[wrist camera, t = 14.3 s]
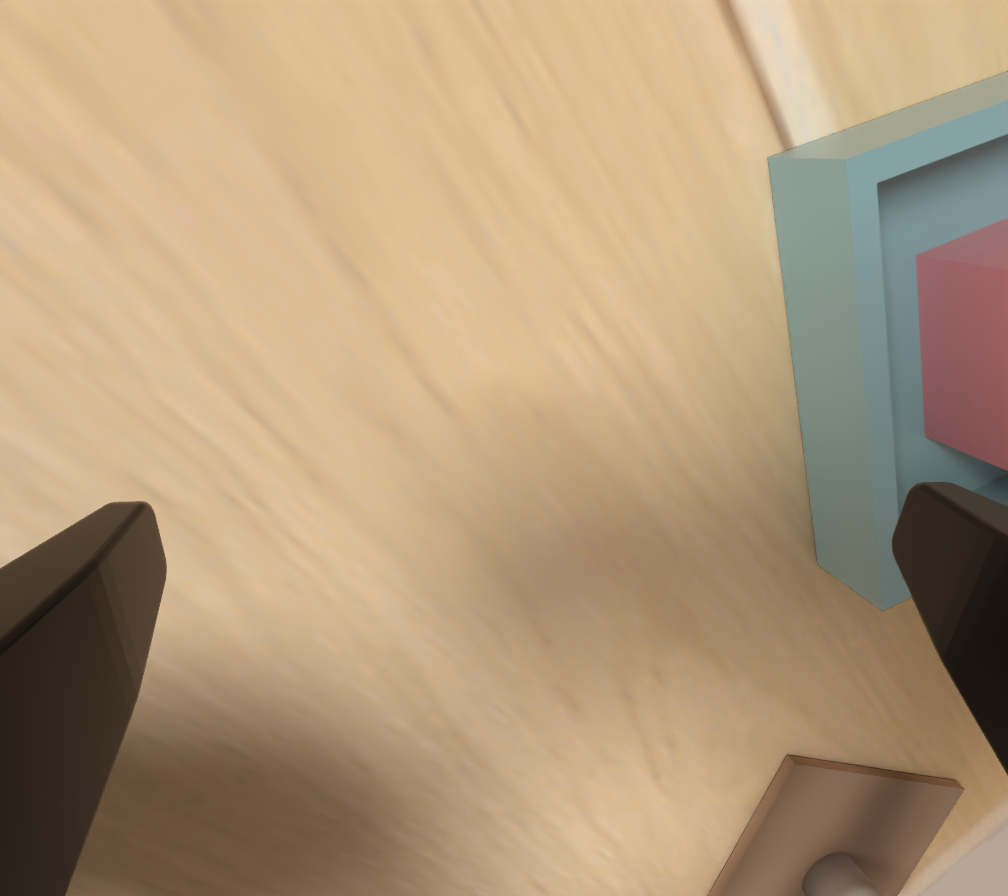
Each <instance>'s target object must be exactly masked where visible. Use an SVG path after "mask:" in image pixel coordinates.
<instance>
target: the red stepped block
mask: <svg viewBox="0 0 1008 896" xmlns="http://www.w3.org/2000/svg"><path fill="white" fill-rule="evenodd" d="M916 269H917V289H918V309H919V329H920V349H921V369H922V388H923V408H924V428H925V436H926V437H928V438H931V439H933V440H935V441H938V442H940V443H942V444H945V445H947V446H950V447H952V448H954V449H957V450H959V451H961V452H964V453H966V454H969V455H971V456H973V457H976V458H978V459H980V460H983V461H985V462H988V463H990V464H992V465H995V466H997V467H999V468H1002V469H1004V470H1007V471H1008V218H1006V219H1003V220H1001V221H998V222H996V223H993V224H991V225H988V226H986V227H983V228H981V229H979V230H976V231H974V232H971V233H969V234H966V235H964V236H961V237H959V238H956V239H954V240H951V241H949V242H947V243H944V244H942V245H939V246H937V247H934V248H932V249H929V250H927V251H924V252H922V253H919V254H917V255H916Z"/></svg>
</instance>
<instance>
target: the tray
mask: <svg viewBox="0 0 1008 896" xmlns="http://www.w3.org/2000/svg"><path fill="white" fill-rule="evenodd" d="M768 165H769V173H770V181H771V189H772V197H773V205H774V213H775V222H776V230H777V238H778V246H779V254H780V262H781V271H782V279H783V287H784V295H785V303H786V311H787V320H788V328H789V336H790V344H791V352H792V360H793V368H794V377H795V385H796V393H797V401H798V409H799V417H800V426H801V434H802V442H803V450H804V458H805V466H806V475H807V483H808V491H809V499H810V507H811V515H812V523H813V532H814V540H815V548H816V556H817V564H818V565H819V566H820V567H821V568H823V569H824V570H825V571H827V572H828V573H830V574H831V575H832V576H834V577H835V578H837V579H838V580H839V581H841V582H842V583H844V584H845V585H846V586H848V587H849V588H850V589H852V590H853V591H855V592H856V593H857V594H859V595H860V596H862V597H863V598H864V599H866V600H867V601H869V602H870V603H871V604H873V605H874V606H876V607H877V608H878V609H880V610H881V611H884V610H886V609H888V608H891V607H893V606H895V605H897V604H899V603H901V602H903V601H905V600H907V599H909V598H911V597H912V596H911V594H910V592H909V590H908V587H907V585H906V583H905V581H904V578H903V576H902V574H901V572H900V570H899V567H898V565H897V563H896V561H895V559H894V556H893V552H892V536H893V533H894V530H895V527H896V524H897V521H898V518H899V516H900V513H901V510H902V507H903V504H904V501H905V498H906V495H907V493H908V491H909V489H910V488H911V487H912V486H913V485H915V484H917V483H920V482H950V483H954V484H956V485H958V486H961V487H963V488H966V489H968V490H970V491H973V492H975V493H978V494H980V495H982V496H985V497H987V498H990V499H992V500H995V501H997V502H999V503H1002V504H1004V505H1007V506H1008V471H1007V470H1004V469H1002V468H999V467H997V466H995V465H992V464H990V463H988V462H985V461H983V460H980V459H978V458H976V457H973V456H971V455H969V454H966V453H964V452H961V451H959V450H957V449H954V448H952V447H950V446H947V445H945V444H942V443H940V442H938V441H935V440H933V439H931V438H928V437H926V436H925V428H924V408H923V388H922V369H921V349H920V329H919V309H918V289H917V269H916V255H917V254H919V253H922V252H924V251H927V250H929V249H932V248H934V247H937V246H939V245H942V244H944V243H947V242H949V241H951V240H954V239H956V238H959V237H961V236H964V235H966V234H969V233H971V232H974V231H976V230H979V229H981V228H983V227H986V226H988V225H991V224H993V223H996V222H998V221H1001V220H1003V219H1006V218H1008V71H1007V72H1004V73H1001V74H998V75H996V76H993V77H990V78H987V79H985V80H982V81H979V82H976V83H973V84H971V85H968V86H965V87H962V88H960V89H957V90H954V91H951V92H948V93H946V94H943V95H940V96H937V97H934V98H932V99H929V100H926V101H923V102H921V103H918V104H915V105H912V106H909V107H907V108H904V109H901V110H898V111H895V112H893V113H890V114H887V115H884V116H882V117H879V118H876V119H873V120H870V121H868V122H865V123H862V124H859V125H857V126H854V127H851V128H848V129H845V130H843V131H840V132H837V133H834V134H831V135H829V136H826V137H823V138H820V139H818V140H815V141H812V142H809V143H806V144H804V145H801V146H798V147H795V148H792V149H790V150H787V151H784V152H781V153H779V154H776V155H773V156H770V157H768Z"/></svg>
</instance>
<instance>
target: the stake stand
mask: <svg viewBox="0 0 1008 896" xmlns="http://www.w3.org/2000/svg"><path fill="white" fill-rule="evenodd" d="M963 791H964V788H963V787H962V786H961V785H960V784H959V783H957V782H956V781H955V780H948V779H942V778H935V777H929V776H922V775H915V774H909V773H902V772H896V771H889V770H883V769H876V768H869V767H863V766H856V765H850V764H843V763H836V762H830V761H823V760H817V759H810V758H803V757H797V756H790V755H787V756H786V758H785V760H784V762H783V763H782V765H781V767H780V769H779V771H778V772H777V774H776V776H775V778H774V779H773V781H772V783H771V785H770V786H769V788H768V790H767V792H766V794H765V795H764V797H763V799H762V801H761V802H760V804H759V806H758V808H757V810H756V811H755V813H754V815H753V817H752V818H751V820H750V822H749V824H748V825H747V827H746V829H745V831H744V833H743V834H742V836H741V838H740V840H739V841H738V843H737V845H736V847H735V849H734V850H733V852H732V854H731V856H730V857H729V859H728V861H727V863H726V864H725V866H724V868H723V870H722V872H721V873H720V875H719V877H718V879H717V880H716V882H715V884H714V886H713V887H712V889H711V891H710V893H709V895H708V896H897V895H898V894H899V892H900V891H901V889H902V887H903V886H904V884H905V883H906V881H907V880H908V878H909V876H910V875H911V873H912V872H913V870H914V868H915V867H916V865H917V864H918V862H919V861H920V859H921V857H922V856H923V854H924V853H925V851H926V849H927V848H928V846H929V845H930V843H931V842H932V840H933V838H934V837H935V835H936V834H937V832H938V831H939V829H940V827H941V826H942V824H943V823H944V821H945V819H946V818H947V816H948V815H949V813H950V812H951V810H952V808H953V807H954V805H955V804H956V802H957V800H958V799H959V797H960V796H961V794H962V793H963Z"/></svg>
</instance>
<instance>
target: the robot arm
mask: <svg viewBox="0 0 1008 896" xmlns="http://www.w3.org/2000/svg"><path fill="white" fill-rule="evenodd" d="M892 552H893V556H894V559H895V561H896V563H897V565H898V567H899V570H900V572H901V574H902V576H903V578H904V581H905V583H906V585H907V587H908V590H909V592H910V594H911V596H912V598H913V601H914V603H915V605H916V607H917V609H918V612H919V614H920V616H921V618H922V620H923V623H924V625H925V627H926V629H927V632H928V634H929V636H930V638H931V640H932V643H933V645H934V647H935V649H936V651H937V653H938V655H939V657H940V659H941V661H942V663H943V665H944V667H945V668H946V670H947V672H948V674H949V676H950V677H951V679H952V681H953V683H954V684H955V686H956V688H957V689H958V691H959V693H960V695H961V696H962V698H963V700H964V701H965V703H966V705H967V707H968V708H969V710H970V712H971V713H972V715H973V717H974V719H975V720H976V722H977V724H978V725H979V727H980V729H981V731H982V732H983V734H984V736H985V737H986V739H987V741H988V742H989V744H990V746H991V748H992V749H993V751H994V753H995V754H996V756H997V758H998V760H999V761H1000V763H1001V765H1002V766H1003V768H1004V770H1005V772H1006V773H1007V775H1008V506H1007V505H1004V504H1002V503H999V502H997V501H995V500H992V499H990V498H987V497H985V496H982V495H980V494H978V493H975V492H973V491H970V490H968V489H966V488H963V487H961V486H958V485H956V484H954V483H950V482H920V483H917V484H915V485H913V486H912V487H911V488H910V489H909V491H908V493H907V495H906V498H905V501H904V504H903V507H902V510H901V513H900V516H899V518H898V521H897V524H896V527H895V530H894V533H893V536H892ZM166 572H167V566H166V558H165V554H164V550H163V546H162V541H161V537H160V533H159V529H158V525H157V521H156V517H155V513H154V511H153V509H152V507H151V505H149V504H148V503H147V502H143V501H136V502H112V503H109V504H107V505H105V506H103V507H102V508H100V509H98V510H97V511H95V512H93V513H92V514H90V515H88V516H87V517H85V518H83V519H82V520H80V521H78V522H77V523H75V524H73V525H72V526H70V527H68V528H67V529H65V530H63V531H62V532H60V533H58V534H57V535H55V536H53V537H52V538H50V539H48V540H47V541H45V542H43V543H42V544H40V545H38V546H37V547H35V548H33V549H32V550H30V551H28V552H27V553H25V554H23V555H22V556H20V557H18V558H17V559H15V560H13V561H12V562H10V563H8V564H7V565H5V566H3V567H2V568H0V896H66V893H67V890H68V887H69V885H70V882H71V879H72V877H73V874H74V871H75V868H76V866H77V863H78V860H79V858H80V855H81V852H82V849H83V847H84V844H85V841H86V838H87V836H88V833H89V830H90V828H91V825H92V822H93V819H94V817H95V814H96V811H97V809H98V806H99V803H100V800H101V798H102V795H103V792H104V790H105V787H106V784H107V781H108V779H109V776H110V773H111V770H112V768H113V765H114V762H115V760H116V757H117V754H118V751H119V749H120V746H121V743H122V741H123V738H124V735H125V732H126V730H127V727H128V724H129V721H130V719H131V716H132V713H133V710H134V707H135V704H136V701H137V698H138V694H139V691H140V687H141V683H142V679H143V675H144V671H145V667H146V662H147V658H148V654H149V649H150V645H151V641H152V637H153V632H154V628H155V624H156V619H157V615H158V611H159V607H160V602H161V598H162V594H163V589H164V585H165V581H166Z"/></svg>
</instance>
